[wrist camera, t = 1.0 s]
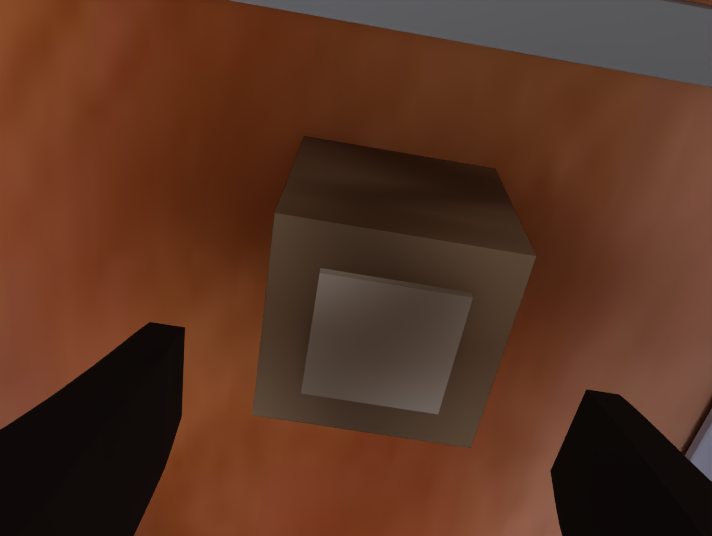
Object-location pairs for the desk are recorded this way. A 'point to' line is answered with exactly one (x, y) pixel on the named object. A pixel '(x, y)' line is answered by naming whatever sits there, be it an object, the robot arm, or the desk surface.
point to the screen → (550, 29)
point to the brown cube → (388, 293)
